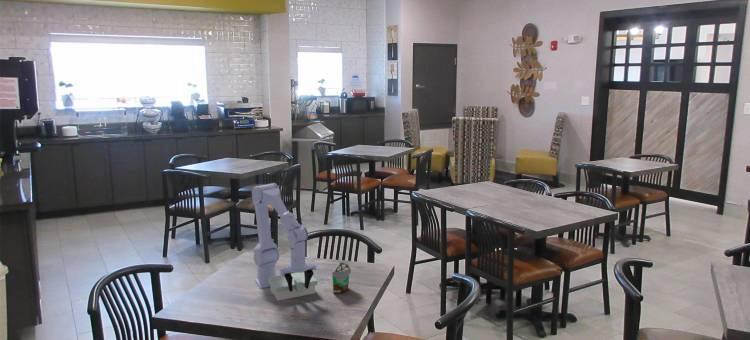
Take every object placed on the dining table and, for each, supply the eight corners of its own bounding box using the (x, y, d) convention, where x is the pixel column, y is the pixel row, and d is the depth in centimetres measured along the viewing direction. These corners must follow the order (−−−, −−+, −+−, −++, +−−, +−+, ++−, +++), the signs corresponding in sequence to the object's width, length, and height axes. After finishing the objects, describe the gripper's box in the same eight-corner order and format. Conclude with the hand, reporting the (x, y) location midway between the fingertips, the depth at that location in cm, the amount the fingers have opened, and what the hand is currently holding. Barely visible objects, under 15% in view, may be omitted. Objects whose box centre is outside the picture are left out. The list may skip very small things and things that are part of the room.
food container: (346, 296, 218) (346, 273, 216) (332, 295, 220) (332, 272, 218) (354, 284, 230) (354, 262, 228) (340, 283, 231) (340, 261, 229)
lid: (267, 281, 222) (267, 272, 222) (307, 274, 230) (307, 265, 229) (278, 296, 209) (278, 286, 208) (320, 288, 217) (320, 278, 216)
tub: (270, 291, 223) (270, 280, 222) (306, 284, 230) (306, 273, 229) (277, 300, 214) (277, 289, 213) (314, 293, 221) (314, 282, 220)
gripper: (283, 263, 205) (284, 296, 207) (318, 257, 211) (319, 289, 214) (278, 257, 211) (278, 289, 214) (312, 251, 217) (313, 283, 220)
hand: (298, 289), depth 214 cm, fingers open, 6 cm apart
